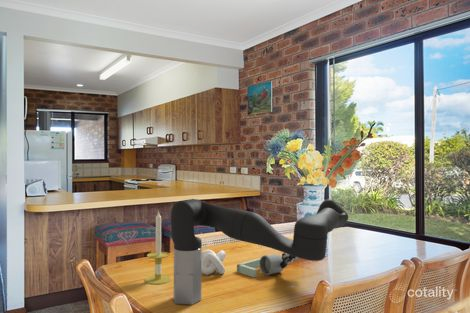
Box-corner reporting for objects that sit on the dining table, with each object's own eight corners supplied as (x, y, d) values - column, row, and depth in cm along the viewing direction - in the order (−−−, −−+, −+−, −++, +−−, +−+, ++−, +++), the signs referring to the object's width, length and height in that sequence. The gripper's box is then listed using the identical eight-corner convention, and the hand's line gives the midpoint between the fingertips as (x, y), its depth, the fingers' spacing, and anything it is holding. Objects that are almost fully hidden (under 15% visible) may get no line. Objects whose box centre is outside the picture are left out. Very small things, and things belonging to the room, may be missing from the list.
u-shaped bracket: (284, 267, 157) (284, 260, 157) (254, 277, 144) (254, 269, 144) (267, 262, 164) (267, 256, 164) (236, 271, 151) (236, 264, 151)
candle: (154, 274, 147) (154, 207, 147) (176, 277, 143) (176, 209, 143) (139, 282, 137) (139, 211, 137) (162, 286, 134) (162, 212, 134)
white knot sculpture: (233, 275, 147) (233, 252, 147) (206, 279, 141) (206, 256, 141) (220, 267, 157) (220, 246, 157) (195, 271, 151) (195, 250, 151)
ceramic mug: (286, 273, 149) (285, 254, 149) (270, 277, 144) (270, 257, 144) (269, 267, 157) (269, 249, 157) (254, 270, 152) (254, 252, 153)
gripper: (301, 252, 131) (276, 278, 140) (322, 246, 140) (297, 270, 149) (290, 235, 135) (266, 261, 144) (311, 230, 144) (287, 255, 153)
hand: (282, 266), depth 147 cm, fingers closed
